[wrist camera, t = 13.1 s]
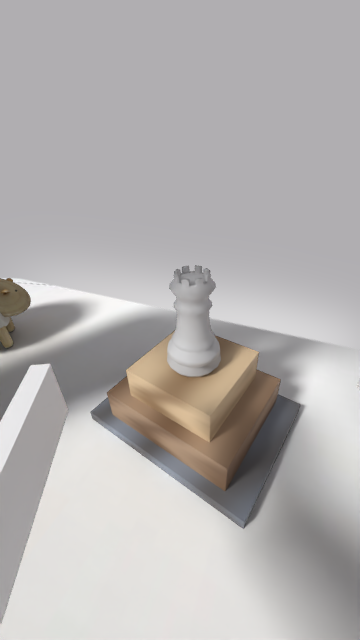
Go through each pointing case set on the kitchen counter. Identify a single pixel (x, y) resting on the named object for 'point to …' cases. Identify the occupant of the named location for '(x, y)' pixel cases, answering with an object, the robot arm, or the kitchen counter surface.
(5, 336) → the toy sheep
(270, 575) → the kitchen counter surface
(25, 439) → the robot arm
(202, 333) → the rook chess piece
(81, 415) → the kitchen counter surface
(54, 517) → the kitchen counter surface
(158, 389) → the plinth
